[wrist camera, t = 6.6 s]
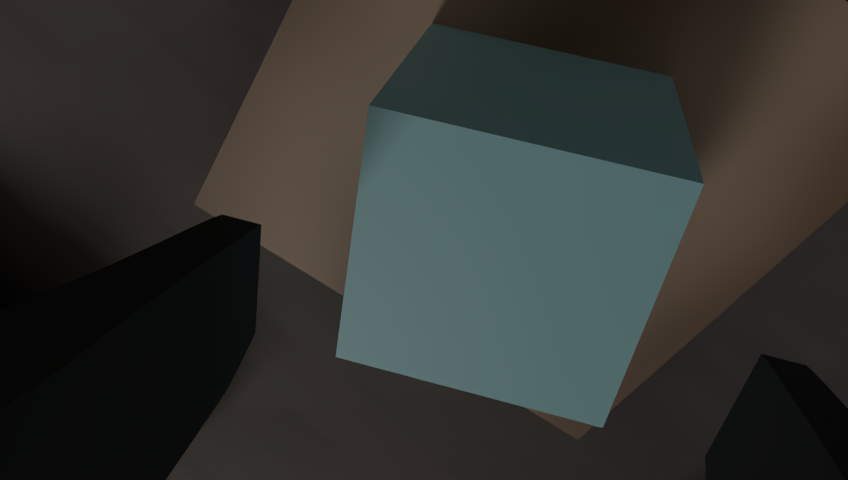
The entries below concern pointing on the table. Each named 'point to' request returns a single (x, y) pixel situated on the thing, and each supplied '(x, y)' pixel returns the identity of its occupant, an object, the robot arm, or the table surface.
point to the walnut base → (588, 37)
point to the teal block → (515, 221)
